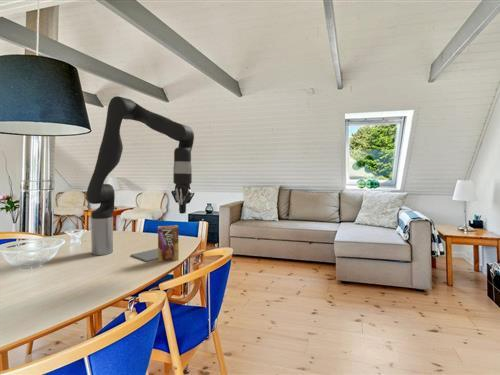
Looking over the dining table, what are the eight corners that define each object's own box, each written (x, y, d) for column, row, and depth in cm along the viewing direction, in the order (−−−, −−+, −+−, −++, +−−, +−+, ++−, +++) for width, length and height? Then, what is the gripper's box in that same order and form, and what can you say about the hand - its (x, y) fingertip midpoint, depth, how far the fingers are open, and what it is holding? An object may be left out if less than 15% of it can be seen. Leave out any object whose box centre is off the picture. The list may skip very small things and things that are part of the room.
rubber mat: (130, 255, 134) (130, 254, 134) (160, 249, 146) (160, 247, 146) (147, 262, 125) (147, 260, 125) (177, 254, 138) (177, 252, 137)
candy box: (178, 257, 132) (178, 224, 132) (178, 260, 128) (178, 226, 127) (157, 259, 129) (157, 225, 129) (158, 262, 125) (158, 227, 125)
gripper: (165, 172, 122) (165, 212, 123) (185, 172, 114) (185, 215, 114) (179, 172, 128) (179, 211, 128) (199, 172, 119) (199, 213, 120)
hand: (182, 213), depth 121 cm, fingers closed
